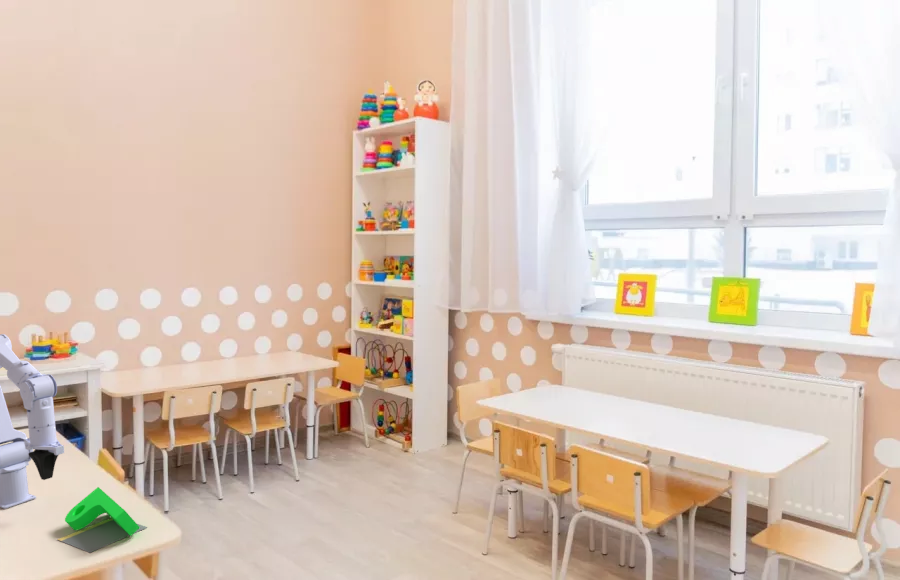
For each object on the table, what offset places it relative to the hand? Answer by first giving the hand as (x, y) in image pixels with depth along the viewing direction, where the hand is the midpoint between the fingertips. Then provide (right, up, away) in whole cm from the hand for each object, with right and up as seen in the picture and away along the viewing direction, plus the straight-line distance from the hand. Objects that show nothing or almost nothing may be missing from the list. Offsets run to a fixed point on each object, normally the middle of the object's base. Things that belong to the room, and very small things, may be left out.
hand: (46, 478), depth 171 cm
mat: (+19, -10, -11) cm, 24 cm away
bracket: (+19, -10, -10) cm, 24 cm away
